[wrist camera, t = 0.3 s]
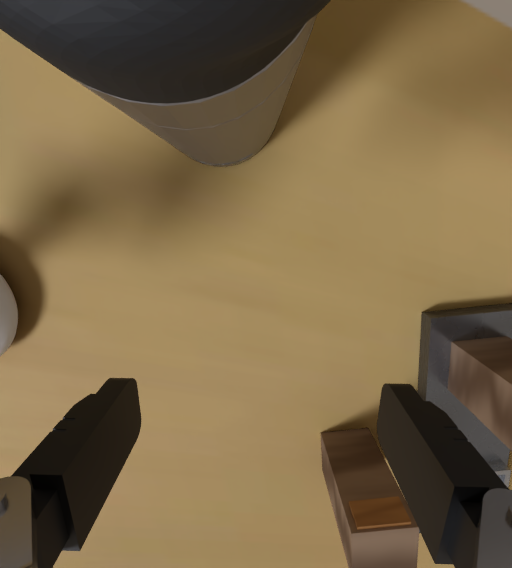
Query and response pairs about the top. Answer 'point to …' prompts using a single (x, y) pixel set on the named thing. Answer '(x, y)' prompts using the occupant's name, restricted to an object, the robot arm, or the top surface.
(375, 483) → the walnut finger
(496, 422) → the block
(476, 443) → the rail
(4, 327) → the flower in vase
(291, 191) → the top surface
